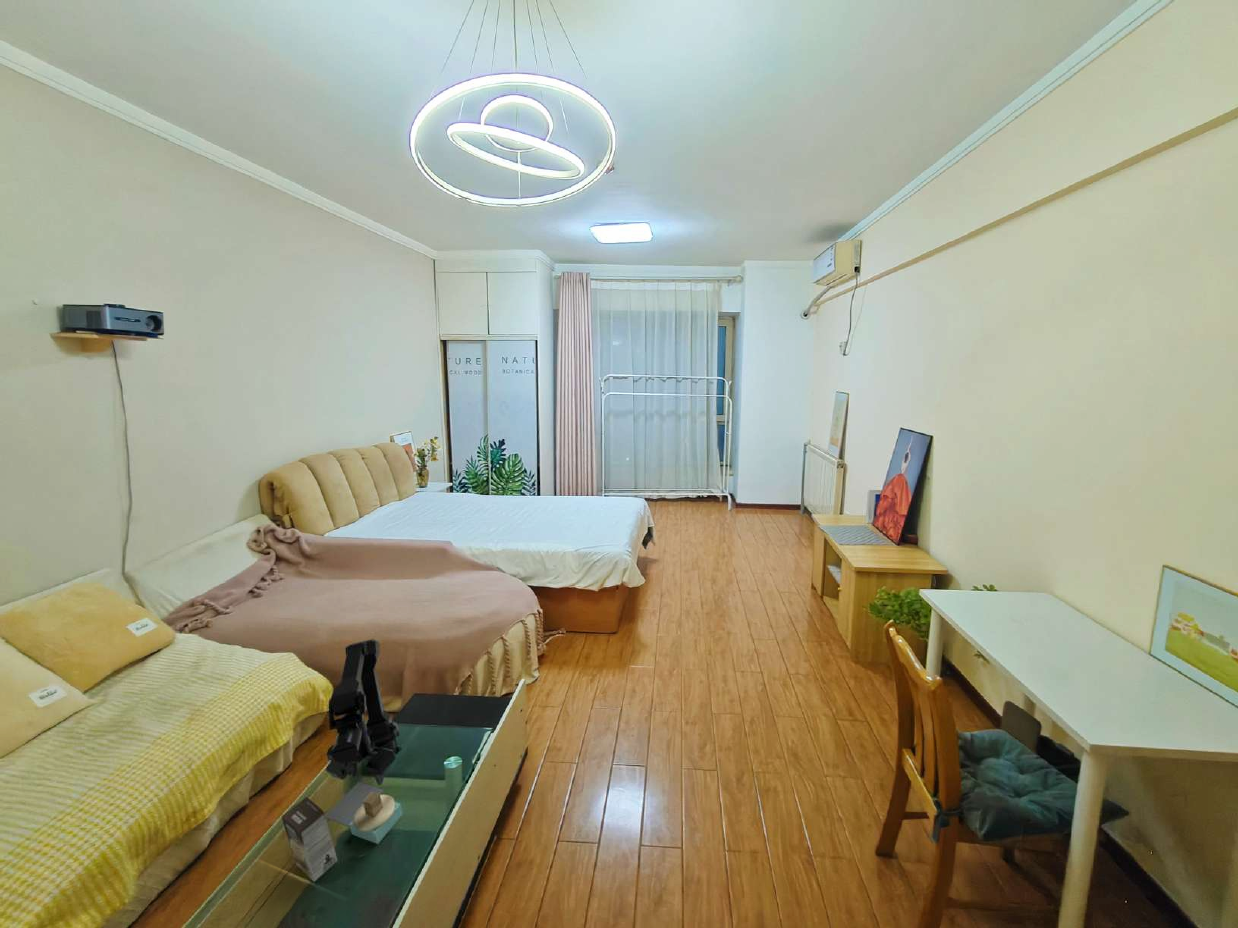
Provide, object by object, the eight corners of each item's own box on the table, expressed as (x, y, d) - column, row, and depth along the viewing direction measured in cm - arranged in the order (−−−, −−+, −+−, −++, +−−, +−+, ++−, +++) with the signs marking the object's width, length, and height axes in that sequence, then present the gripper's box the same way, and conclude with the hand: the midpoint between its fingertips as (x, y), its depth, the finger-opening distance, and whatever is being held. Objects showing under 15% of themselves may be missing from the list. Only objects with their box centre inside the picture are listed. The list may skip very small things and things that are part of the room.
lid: (346, 825, 136) (341, 809, 134) (375, 793, 145) (371, 778, 143) (374, 835, 132) (370, 818, 131) (403, 802, 141) (399, 786, 140)
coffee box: (295, 866, 130) (279, 815, 126) (320, 844, 135) (306, 795, 131) (314, 884, 125) (298, 832, 121) (339, 861, 130) (325, 810, 126)
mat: (359, 783, 154) (358, 781, 153) (384, 791, 150) (384, 789, 150) (324, 818, 143) (323, 816, 143) (350, 828, 139) (349, 826, 139)
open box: (378, 806, 145) (376, 795, 144) (403, 815, 142) (400, 803, 141) (352, 835, 137) (349, 824, 136) (378, 845, 134) (374, 833, 133)
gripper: (302, 748, 131) (316, 796, 135) (356, 765, 125) (370, 815, 129) (338, 717, 141) (351, 762, 145) (391, 731, 135) (402, 778, 139)
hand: (367, 779), depth 139 cm, fingers open, 9 cm apart
